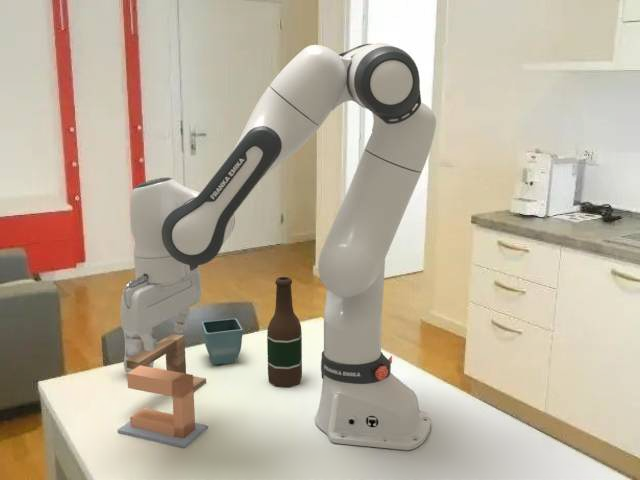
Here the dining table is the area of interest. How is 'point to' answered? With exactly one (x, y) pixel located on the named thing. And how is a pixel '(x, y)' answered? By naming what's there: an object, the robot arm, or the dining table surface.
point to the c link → (167, 385)
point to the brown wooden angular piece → (167, 357)
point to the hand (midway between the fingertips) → (166, 340)
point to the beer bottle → (284, 339)
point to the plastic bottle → (133, 347)
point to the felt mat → (163, 435)
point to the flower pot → (222, 340)
